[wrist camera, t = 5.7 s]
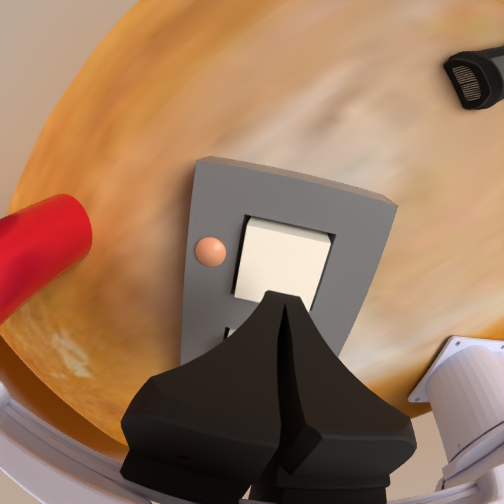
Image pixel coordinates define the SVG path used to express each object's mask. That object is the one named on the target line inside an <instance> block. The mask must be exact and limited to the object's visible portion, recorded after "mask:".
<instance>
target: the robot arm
mask: <svg viewBox="0 0 504 504" xmlns="http://www.w3.org/2000/svg"><path fill="white" fill-rule="evenodd" d="M408 401H409V402H430V405H431V408H432V411H433V414H434V416H435V420H436V423H437V426H438V429H439V432H440V435H441V439H442V442H443V445H444V449H445V453H446V456H447V460H448V465H446V466H445V467H443V468H442V471H443V476H444V477H442V478H441V479H440V480H439V482H438V484H437V486H436V489H435V492H433V493H428V494H424V495H419V496H415V497H409V498H404V499H398V500H392V501H387V499H386V489H385V488H386V487H388V486H389V485H390V477H389V474H391V473H392V472H393V471H395V470H396V469H397V468H399V467H400V466H401V465H402V464H404V463H405V462H406V461H407V460H408V459H409V458H410V457H411V456H412V455H413V454H414V452H415V450H416V448H417V443H416V439H415V434H414V430H413V427H412V423H411V420H410V417H409V416H407V415H405V414H404V413H402V412H401V411H399V410H397V409H396V408H394V407H393V406H391V405H390V404H388V403H386V402H385V401H384V400H382V399H381V398H380V397H379V396H377V395H376V394H375V393H373V392H372V391H371V390H370V389H368V388H367V387H366V386H365V385H364V384H363V383H362V382H361V381H359V380H358V379H357V378H356V377H355V376H354V375H353V374H352V373H351V372H350V371H349V370H348V369H347V368H346V367H345V365H344V364H343V363H342V362H341V361H340V360H339V358H338V357H337V356H336V355H335V354H334V352H333V351H332V350H331V349H330V347H329V346H328V344H327V343H326V341H325V340H324V339H323V337H322V336H321V334H320V332H319V331H318V329H317V327H316V326H315V324H314V322H313V320H312V319H311V317H310V315H309V313H308V311H307V309H306V307H305V305H304V303H303V301H302V299H301V298H300V297H299V296H295V295H290V294H285V293H280V292H276V291H271V290H268V291H266V292H265V294H264V296H263V298H262V300H261V302H260V303H259V305H258V306H257V307H256V309H255V310H254V311H253V312H252V314H251V315H250V316H249V317H248V318H247V320H246V321H245V322H244V323H243V324H242V325H241V326H240V327H239V328H238V329H237V330H236V331H234V332H233V333H232V334H231V335H230V336H229V337H227V338H226V339H225V340H224V341H222V342H221V343H220V344H218V345H217V346H215V347H214V348H212V349H211V350H209V351H208V352H206V353H205V354H203V355H201V356H199V357H197V358H195V359H193V360H191V361H189V362H188V363H186V364H184V365H181V366H179V367H177V368H174V369H172V370H169V371H166V372H164V373H161V374H158V375H155V376H152V377H150V378H149V379H148V380H147V382H146V383H145V384H144V385H143V386H142V387H141V389H140V390H139V391H138V393H137V394H136V395H135V396H134V398H133V399H132V401H131V403H130V404H129V406H128V408H127V410H126V412H125V414H124V416H123V418H122V420H121V428H122V431H123V433H124V436H125V438H126V441H127V443H128V446H129V448H130V450H129V452H128V454H127V456H126V458H125V460H124V463H123V464H122V463H120V462H117V461H115V460H113V459H111V458H109V457H106V456H104V455H102V454H100V453H98V452H96V451H94V450H92V449H90V448H88V447H86V446H84V445H83V444H81V443H79V442H77V441H75V440H74V439H72V438H70V437H68V436H67V435H65V434H63V433H61V432H60V431H58V430H57V429H55V428H54V427H52V426H50V425H48V424H47V423H46V422H44V421H43V420H41V419H40V418H38V417H37V416H35V415H34V414H33V413H31V412H30V411H28V410H27V409H26V408H24V407H23V406H22V405H20V404H19V403H17V402H16V401H15V400H14V399H12V398H11V395H10V393H9V392H8V390H7V388H6V387H5V386H4V384H3V383H2V382H1V381H0V469H1V470H2V471H3V472H4V473H5V474H6V475H8V476H9V477H10V478H11V479H12V480H13V481H15V482H16V483H17V484H18V485H19V486H20V487H22V488H23V489H24V490H25V491H27V492H28V493H29V494H31V495H32V496H33V497H34V498H36V499H37V500H39V501H40V502H41V503H43V504H152V503H151V501H154V502H157V503H160V504H504V341H502V340H490V339H479V338H469V337H460V336H452V337H451V338H449V340H448V341H447V343H446V344H445V346H444V347H443V349H442V351H441V352H440V354H439V355H438V357H437V358H436V360H435V361H434V363H433V364H432V366H431V367H430V368H429V370H428V371H427V373H426V374H425V375H424V377H423V378H422V380H421V381H420V382H419V384H418V385H417V386H416V388H415V389H414V390H413V391H412V393H411V394H410V395H409V397H408ZM251 484H252V485H251ZM250 486H251V490H250V494H249V498H248V500H247V499H242V497H243V496H244V494H245V493H246V491H247V490H248V489H249V487H250ZM145 498H146V499H145ZM150 500H151V501H150Z"/></svg>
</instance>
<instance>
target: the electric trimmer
mask: <svg viewBox="0 0 504 504" xmlns="http://www.w3.org/2000/svg"><path fill="white" fill-rule="evenodd" d="M444 68H445V70H446V72H447V74H448V76H449V78H450V80H451V82H452V84H453V86H454V88H455V90H456V92H457V94H458V97H459V99H460V101H461V103H462V106H463V107H464V108H465V109H469V110H471V109H475V110H480V109H486V108H489V107H491V106H493V105H494V104H496V103H497V102H499V101H500V100H502V99H504V46H502V47H497V48H491V49H486V50H481V51H464V52H459V53H457V54H455V55H453V56H451V57H450V58H449V61H447V62H446V63H445V64H444Z"/></svg>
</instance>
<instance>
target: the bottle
mask: <svg viewBox="0 0 504 504" xmlns="http://www.w3.org/2000/svg"><path fill="white" fill-rule="evenodd" d="M91 243H92V230H91V224H90V221H89V218H88V216H87V214H86V212H85V210H84V208H83V207H82V205H81V204H80V203H79V202H78V201H77V200H76V199H75V198H73V197H72V196H70V195H67V194H58V195H55V196H52V197H50V198H47V199H45V200H42V201H40V202H38V203H35V204H33V205H30V206H28V207H26V208H24V209H21V210H19V211H17V212H15V213H12V214H10V215H8V216H6V217H4V218H2V219H0V325H1V324H2V323H3V322H5V321H6V320H7V319H8V318H9V317H10V316H11V315H12V314H14V313H15V312H16V311H17V310H18V309H19V308H21V307H22V306H23V305H24V304H25V303H26V302H28V301H29V300H30V299H31V298H32V297H34V296H35V295H36V294H37V293H39V292H40V291H41V290H42V289H43V288H45V287H46V286H47V285H49V284H50V283H51V282H52V281H54V280H55V279H56V278H57V277H59V276H60V275H61V274H63V273H64V272H65V271H67V270H68V269H69V268H71V267H72V266H73V265H75V264H76V263H77V262H79V261H80V260H81V259H83V258H84V257H85V256H86V255H87V254H88V252H89V250H90V247H91Z"/></svg>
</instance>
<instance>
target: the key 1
mask: <svg viewBox="0 0 504 504" xmlns="http://www.w3.org/2000/svg"><path fill="white" fill-rule="evenodd" d="M330 245H331V243H330V240H329V237H328V234H327V232H324V231H320V230H315V229H311V228H306V227H302V226H298V225H293V224H289V223H284V222H279V221H275V220H270V219H265V218H261V217H256V216H251V218H250V220H249V222H248V224H247V228H246V234H245V240H244V245H243V251H242V256H241V262H240V267H239V273H238V279H237V284H236V290H235V296H234V297H236V298H241V299H245V300H250V301H254V302H259V303H260V302H261V300H262V298H263V296H264V294H265V292H266V291H268V290H271V291H276V292H280V293H285V294H290V295H295V296H299V297H300V298H301V299H302V301H303V303H304V305H305V307H306V309H307V311H308V313H309V310H310V307H311V304H312V301H313V298H314V295H315V292H316V289H317V286H318V283H319V280H320V277H321V274H322V271H323V267H324V264H325V261H326V258H327V255H328V251H329V248H330Z"/></svg>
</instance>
